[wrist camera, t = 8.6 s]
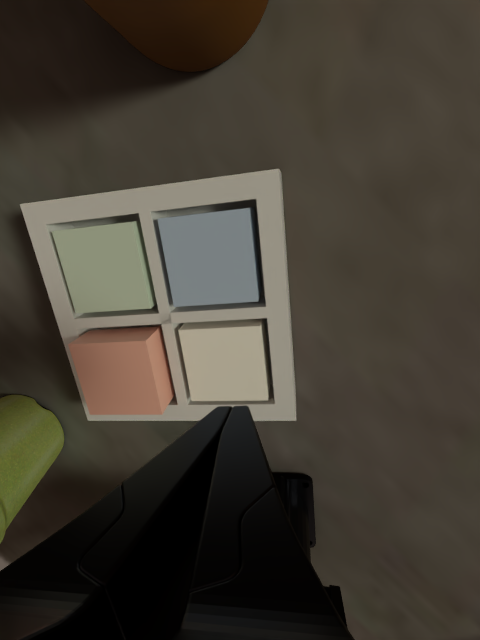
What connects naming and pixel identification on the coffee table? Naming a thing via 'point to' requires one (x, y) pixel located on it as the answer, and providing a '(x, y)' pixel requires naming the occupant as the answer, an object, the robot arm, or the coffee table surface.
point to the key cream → (226, 360)
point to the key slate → (212, 257)
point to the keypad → (148, 208)
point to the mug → (184, 28)
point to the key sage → (106, 267)
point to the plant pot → (24, 451)
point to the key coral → (123, 371)
